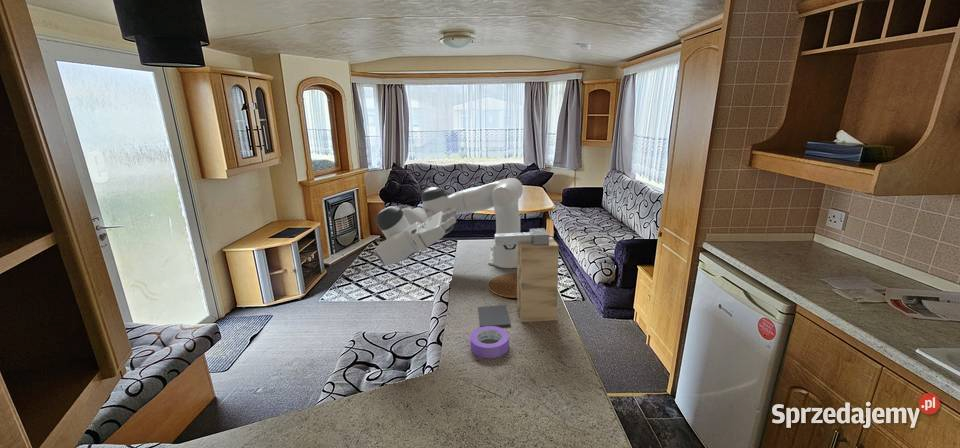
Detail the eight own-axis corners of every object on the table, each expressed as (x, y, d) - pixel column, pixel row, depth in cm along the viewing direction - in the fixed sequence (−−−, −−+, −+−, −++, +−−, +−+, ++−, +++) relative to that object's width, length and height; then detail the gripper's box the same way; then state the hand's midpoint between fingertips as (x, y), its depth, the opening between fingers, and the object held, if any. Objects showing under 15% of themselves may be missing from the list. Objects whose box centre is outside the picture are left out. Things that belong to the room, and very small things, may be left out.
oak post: (517, 309, 140) (517, 238, 133) (549, 307, 141) (551, 236, 133) (521, 322, 132) (521, 247, 124) (556, 320, 133) (558, 245, 125)
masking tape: (480, 363, 112) (480, 351, 111) (464, 342, 122) (464, 331, 121) (515, 351, 117) (515, 340, 115) (497, 332, 127) (497, 322, 126)
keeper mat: (478, 308, 142) (478, 306, 141) (505, 307, 142) (505, 305, 142) (480, 328, 129) (480, 325, 129) (510, 326, 130) (510, 324, 129)
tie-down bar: (494, 240, 131) (493, 230, 130) (543, 238, 132) (544, 228, 131) (496, 247, 125) (496, 237, 124) (548, 244, 126) (549, 234, 125)
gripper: (427, 233, 141) (460, 214, 139) (421, 253, 121) (460, 232, 120) (418, 218, 139) (451, 200, 138) (411, 237, 119) (449, 215, 118)
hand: (455, 215), depth 129 cm, fingers open, 8 cm apart
